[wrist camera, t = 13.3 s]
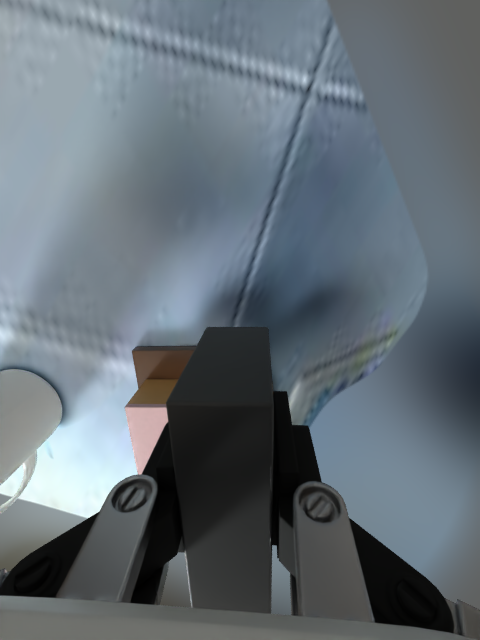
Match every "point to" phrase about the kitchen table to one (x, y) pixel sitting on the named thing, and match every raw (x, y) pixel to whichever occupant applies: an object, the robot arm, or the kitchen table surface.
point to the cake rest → (148, 417)
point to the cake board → (160, 362)
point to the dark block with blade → (226, 468)
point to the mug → (24, 423)
